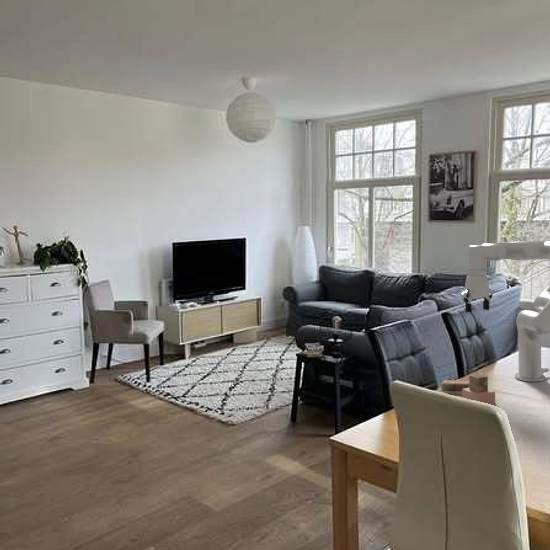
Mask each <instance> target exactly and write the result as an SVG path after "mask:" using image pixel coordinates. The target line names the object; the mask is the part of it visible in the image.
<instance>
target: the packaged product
mask: <svg viewBox="0 0 550 550" xmlns="http://www.w3.org/2000/svg"><path fill="white" fill-rule="evenodd" d="M464 388H469V380H453V379H452V380H450V379H444V380H442V381H441V383H440V390H441V392H444V393H448V394H447V395H454V394H455V395H456V396H457V395H460V396H462V389H464Z"/></svg>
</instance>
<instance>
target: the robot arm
mask: <svg viewBox="0 0 550 550" xmlns="http://www.w3.org/2000/svg"><path fill="white" fill-rule="evenodd" d="M502 260H512V261H534V260H540V261H541V260H550V240H530V241H527V240H525V241H507V242H487V243H486V242H485V243H482V244H473V245H472V244H471V245H469V246H468V247H467V273H468V274H467V276H466V278H465V285H464V291H463V292H461V293H460V297H461V300H462V301H463V302H464V303H465V312H466V313H472V312H473V311H472V310H473V309H472V307H473V306H472V301H473V300H475V299H476V300H477V299H483V302H482V309H483V310H485V311H490V302H491V300H492V298H493V295H494V293H495V291H494V290H493V289H491V288H489V277H488V275H487V273H488V269H487V261H489V262H490V261H491V262H498V261H502ZM548 267H549V269H550V264H549V266H548ZM533 307H534V309H535V310H531V309H524V310H521V311H520V312H519V313H518V314H517V316H516V320H515V323H516V324H515V325H516V330H517V335H518V336H517V337H518V372H517V373H515V374H514V378H515V379H517V380H520V381H523V382H529V383H530V382H531V383H537V382H543V381H545V380H546V376H545V375H544V373H549V372H550V369H549V368H548V367H545V368H543V367H542V337H541V335H542V336H543V335H548V334H549V333H550V280H549V281H548V283H547V285H546V286H545V287H543V289H542V290H541V291H540V292H539V294H538V295H536V298H535V299H534V300H533Z"/></svg>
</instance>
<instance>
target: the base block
mask: <svg viewBox="0 0 550 550" xmlns="http://www.w3.org/2000/svg"><path fill="white" fill-rule="evenodd" d="M462 397H464V398H467V399H471V400H476V401H480V402H484V403H488V404H491V405H495V404H496V391H495V390H492V389H490V388H488V391H485V392H480V393H477V392H475V391H472V390H470V389H469V388H464V389H462V395H461V398H462Z"/></svg>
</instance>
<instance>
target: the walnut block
mask: <svg viewBox="0 0 550 550" xmlns="http://www.w3.org/2000/svg"><path fill="white" fill-rule="evenodd" d="M468 378H469V379H468V381H469V389H470V390H472V391H475V392H477V393H480V392H485V391H488V389H489V387H488V386H489V380H488V379H489V377H488V376H487V375H485V374H482V373H475V374H474V373H473V374H469V375H468Z"/></svg>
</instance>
